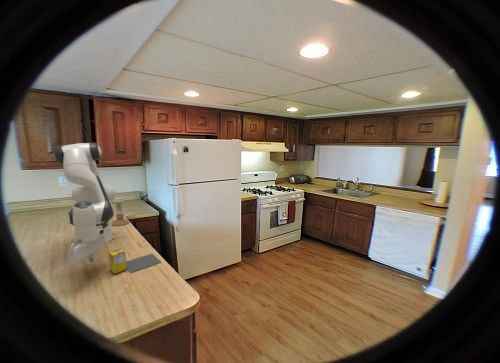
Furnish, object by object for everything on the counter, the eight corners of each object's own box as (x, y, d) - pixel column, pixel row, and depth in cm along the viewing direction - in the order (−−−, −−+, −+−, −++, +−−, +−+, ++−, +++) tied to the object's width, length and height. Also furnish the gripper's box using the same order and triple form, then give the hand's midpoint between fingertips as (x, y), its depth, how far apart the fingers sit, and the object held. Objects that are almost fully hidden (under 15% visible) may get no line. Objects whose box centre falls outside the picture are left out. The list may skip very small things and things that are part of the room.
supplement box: (122, 266, 122) (120, 247, 121) (126, 270, 119) (125, 251, 117) (110, 271, 118) (108, 251, 116) (114, 275, 114) (112, 255, 112)
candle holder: (114, 222, 192) (112, 199, 189) (130, 220, 196) (128, 198, 193) (110, 227, 181) (107, 203, 178) (127, 225, 185) (125, 201, 181)
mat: (123, 263, 126) (123, 262, 126) (152, 253, 137) (152, 253, 137) (130, 273, 116) (130, 272, 116) (161, 262, 127) (161, 262, 127)
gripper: (76, 245, 96) (80, 274, 99) (106, 228, 117) (109, 252, 119) (61, 245, 96) (65, 274, 99) (94, 228, 117) (97, 252, 119)
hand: (89, 262), depth 109 cm, fingers closed
